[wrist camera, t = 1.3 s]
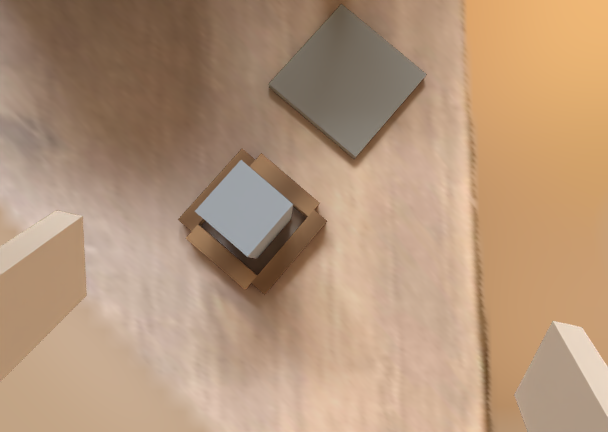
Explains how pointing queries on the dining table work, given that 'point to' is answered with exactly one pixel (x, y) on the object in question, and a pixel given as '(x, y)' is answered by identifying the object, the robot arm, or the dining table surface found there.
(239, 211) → the dusty blue painted block
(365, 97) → the grey rubber mat
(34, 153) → the dining table surface
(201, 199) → the walnut pocket frame
